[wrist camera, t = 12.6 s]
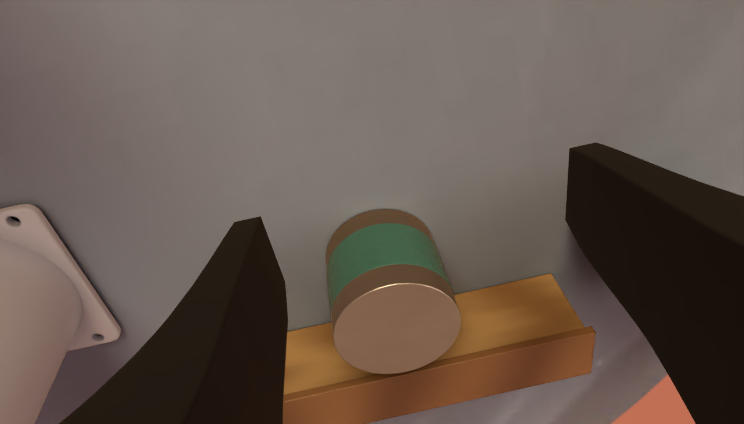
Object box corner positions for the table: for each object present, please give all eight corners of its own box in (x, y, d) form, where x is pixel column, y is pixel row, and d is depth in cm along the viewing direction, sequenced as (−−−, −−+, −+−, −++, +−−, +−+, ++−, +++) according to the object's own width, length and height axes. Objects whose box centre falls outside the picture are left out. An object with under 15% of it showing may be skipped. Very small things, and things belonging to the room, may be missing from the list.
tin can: (337, 303, 26) (347, 386, 22) (313, 222, 23) (318, 300, 19) (438, 280, 26) (466, 359, 22) (427, 197, 23) (457, 270, 19)
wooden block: (219, 400, 29) (209, 477, 26) (189, 349, 27) (173, 426, 23) (552, 326, 29) (589, 391, 26) (555, 268, 27) (596, 332, 23)
